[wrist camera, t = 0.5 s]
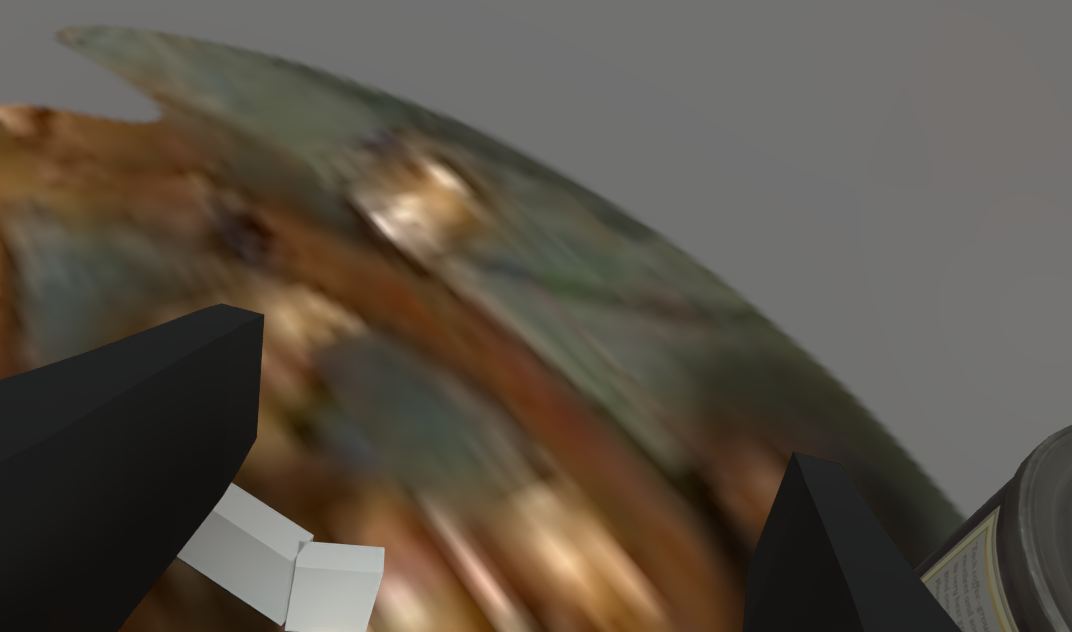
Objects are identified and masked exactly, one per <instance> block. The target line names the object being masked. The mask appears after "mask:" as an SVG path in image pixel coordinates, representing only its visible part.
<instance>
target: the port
mask: <svg viewBox="0 0 1072 632" xmlns="http://www.w3.org/2000/svg"><path fill="white" fill-rule="evenodd" d="M313 537H314V535H312V534H311V533H309V532H308V531H306V530H305V529H303V528H301V527H300V526H298V525H297V524H295V523H294V522H292V521H291V520H289V519H288V518H286V517H284V516H283V515H281V514H280V513H278V512H277V511H275V510H274V509H272V508H270V507H269V506H267V505H266V504H264V503H263V502H261V501H260V500H258V499H256V498H255V497H253V496H252V495H250V494H249V493H247V492H246V491H244V490H243V489H241V488H239V487H238V486H236V485H235V484H233V483H232V482H231V484H230V485H229V487H228V489H227V490H226V492H225V494H224V495H223V497H222V498H221V500H220V501H219V502H218V504H217V505H216V506H215V508H214V509H213V510H212V511H211V513H210V514H209V515H208V517H207V518H206V519H205V520H204V522H203V523H202V524H201V526H200V527H199V528H198V529H197V531H196V532H195V533H194V535H193V536H192V537H191V538H190V540H189V541H188V542H187V544H186V545H185V546H184V547H183V549H182V550H181V551H180V552H179V554H178V555H177V557H179V558H180V559H182V560H183V561H185V562H186V563H188V564H189V565H191V566H192V567H194V568H195V569H197V570H198V571H200V572H201V573H203V574H204V575H206V576H207V577H209V578H210V579H212V580H213V581H215V582H216V583H218V584H219V585H221V586H222V587H224V588H225V589H227V590H228V591H230V592H231V593H233V594H234V595H236V596H237V597H239V598H240V599H242V600H243V601H245V602H246V603H248V604H249V605H251V606H252V607H254V608H255V609H257V610H258V611H260V612H261V613H263V614H264V615H266V616H267V617H269V618H270V619H272V620H273V621H275V622H276V623H278V624H279V625H281V626H282V624H283V623H284V622H285V621H286V625H285V631H298V632H366V629H367V625H368V622H369V619H370V615H371V612H372V609H373V605H374V602H375V599H376V595H377V592H378V589H379V585H380V582H381V579H382V575H383V567H384V550H385V548H384V547H371V546H359V545H347V544H334V543H322V542H313Z"/></svg>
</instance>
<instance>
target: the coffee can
mask: <svg viewBox="0 0 1072 632" xmlns="http://www.w3.org/2000/svg"><path fill="white" fill-rule="evenodd" d="M914 571H915V572H916V574H917V575H918V576H919V578H920V579H921V580H922V582H923V583H924V584H925V585H926V587H927V588H928V589H929V591H930V592H931V593H932V595H933V596H934V597H935V599H936V600H937V601H938V602H939V603H940V605H941V606H942V607H943V608H944V610H945V611H946V612H947V613H948V615H949V616H950V617H951V618H952V619H953V621H954V622H955V623H956V624H957V626H958V627H959V628H960V629H961V630H962V632H1072V425H1071V426H1068V427H1066V428H1064V429H1062V430H1060V431H1058V432H1056V433H1054V434H1053V435H1051V436H1049V437H1048V438H1047V439H1046V440H1045V441H1043V442H1042V443H1041V444H1040V445H1039V446H1038V447H1037V448H1036V449H1034V450H1033V451H1032V452H1031V454H1030V455H1029V456H1028V457H1027V458H1026V459H1025V460H1024V461H1023V462H1022V463H1021V465H1020V467H1019V468H1018V470H1017V472H1016V473H1015V476H1014V477H1013V478H1012V479H1011V480H1010V481H1009V482H1007V483H1006V484H1005V485H1004V486H1003V487H1002V488H1001V489H1000V490H999V491H998V492H997V493H996V494H995V495H993V496H992V497H991V498H990V499H989V500H988V501H987V502H986V503H985V504H984V505H983V506H982V507H981V508H980V509H978V510H977V511H976V512H975V513H974V514H973V515H972V516H971V517H970V518H969V519H968V520H967V521H966V522H965V523H964V524H962V525H961V526H960V527H959V528H958V529H956V531H955V532H954V533H953V534H952V535H951V536H949V537H948V538H947V539H946V540H945V541H944V542H943V543H942V544H941V545H940V546H939V547H938V548H937V549H936V550H935V551H933V552H932V553H931V554H930V555H929V556H928V557H927V558H926V559H925V560H924V561H923V562H922V563H921V564H920V565H919V566H918V567H917V568H916V569H915V570H914Z"/></svg>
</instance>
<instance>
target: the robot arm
mask: <svg viewBox="0 0 1072 632" xmlns="http://www.w3.org/2000/svg"><path fill="white" fill-rule="evenodd" d="M263 327H264V314H260V313H256V312H252V311H248V310H244V309H241V308H237V307H233V306H229V305H225V304H219V305H215V306H212V307H208V308H205V309H202V310H199V311H196V312H193V313H191V314H188V315H185V316H183V317H180V318H177V319H175V320H172V321H169V322H167V323H164V324H161V325H159V326H156V327H154V328H151V329H148V330H146V331H143V332H140V333H138V334H135V335H132V336H130V337H127V338H124V339H122V340H119V341H116V342H114V343H111V344H108V345H106V346H103V347H100V348H98V349H95V350H92V351H89V352H86V353H83V354H80V355H77V356H74V357H71V358H68V359H65V360H62V361H59V362H56V363H53V364H50V365H47V366H44V367H41V368H38V369H35V370H32V371H29V372H25V373H22V374H19V375H16V376H12V377H9V378H6V379H2V380H0V632H118V630H119V629H120V627H121V626H122V625H123V623H124V622H125V621H126V619H127V618H128V617H129V615H130V614H131V613H132V612H133V610H134V609H135V608H136V607H137V605H138V604H139V603H140V602H141V600H142V599H143V598H144V596H145V595H146V594H147V593H148V591H149V590H150V589H151V588H152V586H153V585H154V584H155V583H156V581H157V580H158V579H159V578H160V576H161V575H162V574H163V572H164V571H165V570H166V569H167V567H168V566H169V565H170V564H171V562H172V561H173V560H174V559H175V557H176V556H177V555H178V554H179V552H180V551H181V550H182V549H183V547H184V546H185V545H186V544H187V542H188V541H189V540H190V538H191V537H192V536H193V535H194V533H195V532H196V531H197V529H198V528H199V527H200V526H201V524H202V523H203V522H204V520H205V519H206V518H207V517H208V515H209V514H210V513H211V511H212V510H213V509H214V508H215V506H216V505H217V504H218V502H219V501H220V500H221V498H222V497H223V495H224V494H225V492H226V490H227V489H228V487H229V485H230V484H231V482H232V480H233V479H234V477H235V475H236V474H237V472H238V470H239V469H240V467H241V465H242V463H243V462H244V460H245V458H246V456H247V454H248V453H249V451H250V449H251V447H252V445H253V444H254V442H255V440H256V438H257V423H258V407H259V391H260V375H261V359H262V343H263ZM743 632H962V630H961V629H960V628H959V627H958V626H957V624H956V623H955V622H954V621H953V619H952V618H951V617H950V616H949V615H948V613H947V612H946V611H945V610H944V608H943V607H942V606H941V605H940V603H939V602H938V601H937V600H936V599H935V597H934V596H933V595H932V593H931V592H930V591H929V589H928V588H927V587H926V585H925V584H924V583H923V582H922V580H921V579H920V578H919V576H918V575H917V574H916V572H915V571H914V569H913V568H912V567H911V565H910V564H909V563H908V561H907V560H906V558H905V557H904V556H903V554H902V553H901V551H900V550H899V549H898V547H897V546H896V544H895V543H894V542H893V540H892V539H891V537H890V536H889V534H888V533H887V531H886V530H885V529H884V527H883V526H882V524H881V523H880V521H879V520H878V518H877V517H876V515H875V514H874V512H873V511H872V509H871V508H870V506H869V505H868V503H867V502H866V500H865V499H864V497H863V496H862V494H861V493H860V491H859V490H858V488H857V487H856V485H855V484H854V483H853V481H852V480H851V478H850V477H849V475H848V474H847V472H846V471H845V470H844V468H843V467H842V466H841V464H839V463H835V462H831V461H827V460H824V459H820V458H816V457H812V456H808V455H804V454H800V453H797V452H793V454H792V456H791V459H790V461H789V464H788V467H787V469H786V472H785V474H784V477H783V480H782V482H781V485H780V487H779V490H778V492H777V495H776V498H775V500H774V503H773V505H772V508H771V511H770V513H769V516H768V518H767V521H766V524H765V526H764V529H763V531H762V534H761V537H760V539H759V542H758V544H757V547H756V549H755V552H754V555H753V557H752V560H751V562H750V565H749V568H748V571H747V583H746V595H745V608H744V624H743Z"/></svg>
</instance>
